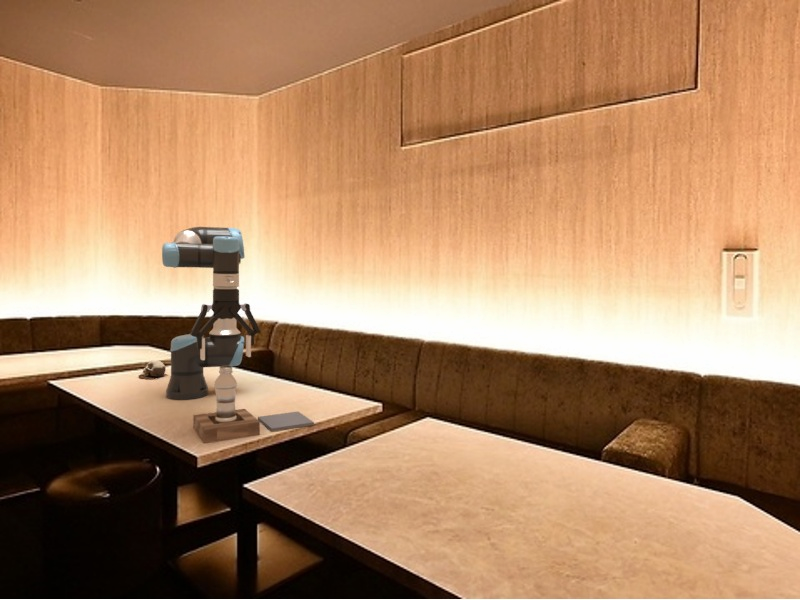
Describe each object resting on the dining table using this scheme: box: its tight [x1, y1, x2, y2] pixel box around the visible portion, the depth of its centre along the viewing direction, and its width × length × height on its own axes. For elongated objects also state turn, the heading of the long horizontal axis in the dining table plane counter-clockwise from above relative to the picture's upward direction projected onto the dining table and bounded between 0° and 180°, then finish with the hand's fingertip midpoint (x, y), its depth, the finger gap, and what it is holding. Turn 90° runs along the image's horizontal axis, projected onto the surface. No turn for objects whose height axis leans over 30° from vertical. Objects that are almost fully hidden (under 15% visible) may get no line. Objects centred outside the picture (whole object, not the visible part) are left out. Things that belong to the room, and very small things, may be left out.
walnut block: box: [192, 408, 261, 444], centre depth 163 cm, size 16×16×4 cm
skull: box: [138, 359, 169, 380], centre depth 235 cm, size 12×10×10 cm
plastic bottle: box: [214, 366, 238, 424], centre depth 162 cm, size 6×7×20 cm
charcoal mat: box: [257, 411, 315, 432], centre depth 173 cm, size 14×14×1 cm
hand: (226, 358), depth 161 cm, fingers open, 13 cm apart
